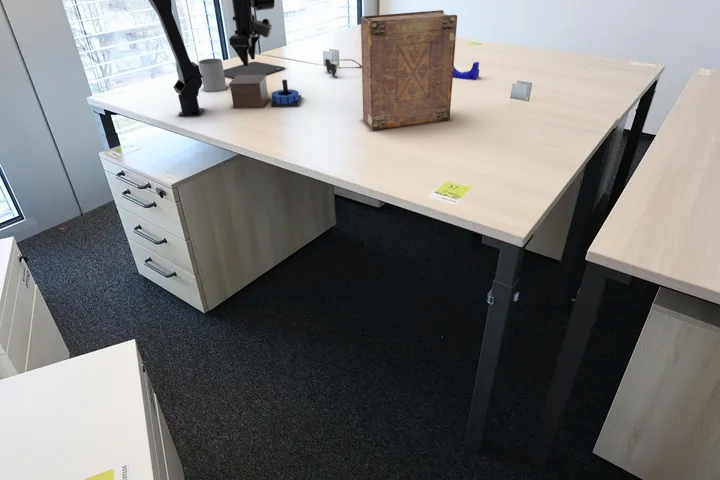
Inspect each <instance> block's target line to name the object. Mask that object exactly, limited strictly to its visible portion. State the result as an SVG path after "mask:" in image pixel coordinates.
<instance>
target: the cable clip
mask: <svg viewBox="0 0 720 480" xmlns="http://www.w3.org/2000/svg"><path fill="white" fill-rule="evenodd" d="M479 68H480V62H479V61H474V62H473V63H472V67H471V68H470V69H469V70H468V71H463V72H462V71H459V70H458V69H456V67H455V66H454V67H453V79H461V80H470V81H476V80H477V79H479V76H480V69H479Z"/></svg>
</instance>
